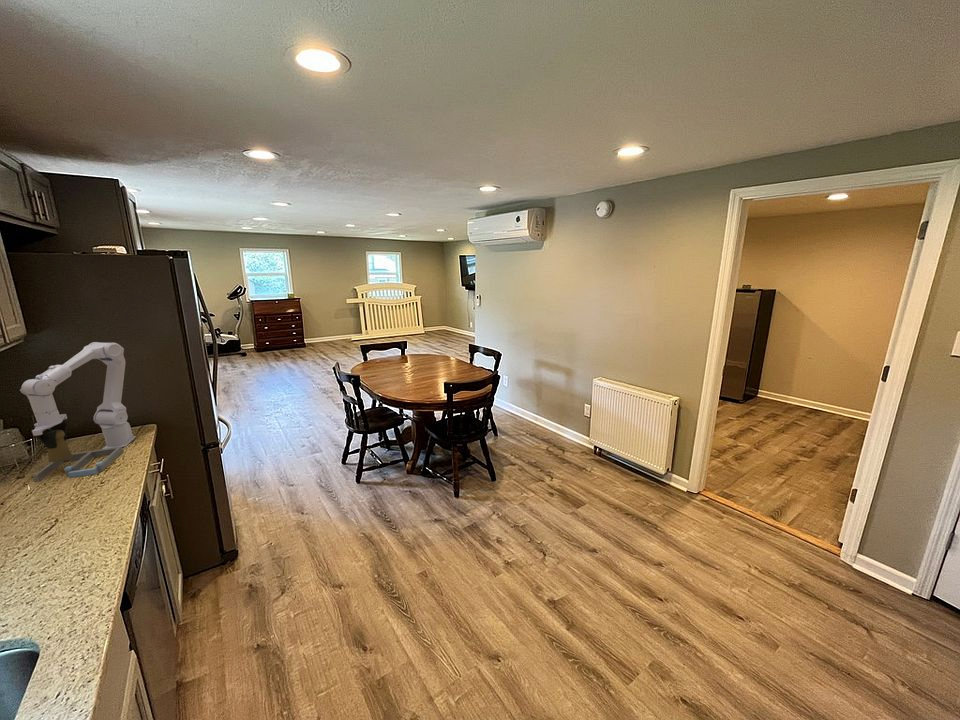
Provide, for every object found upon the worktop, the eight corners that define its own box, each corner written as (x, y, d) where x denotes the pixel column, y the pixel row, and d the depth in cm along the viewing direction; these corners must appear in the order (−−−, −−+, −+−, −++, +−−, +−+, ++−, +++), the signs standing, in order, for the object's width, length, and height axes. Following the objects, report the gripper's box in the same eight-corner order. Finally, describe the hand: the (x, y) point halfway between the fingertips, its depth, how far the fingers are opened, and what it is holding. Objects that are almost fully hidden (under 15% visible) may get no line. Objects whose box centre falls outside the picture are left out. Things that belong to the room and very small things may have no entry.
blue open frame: (62, 460, 149) (60, 453, 148) (123, 451, 156) (121, 444, 155) (32, 483, 135) (29, 475, 134) (101, 473, 141) (98, 465, 140)
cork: (58, 462, 139) (50, 435, 136) (43, 461, 139) (35, 434, 137) (76, 454, 145) (69, 428, 142) (62, 453, 145) (55, 427, 142)
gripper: (45, 404, 142) (56, 437, 146) (15, 420, 129) (28, 455, 133) (69, 402, 144) (80, 434, 148) (42, 417, 131) (55, 452, 135)
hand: (57, 444), depth 141 cm, fingers closed on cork, 5 cm apart
